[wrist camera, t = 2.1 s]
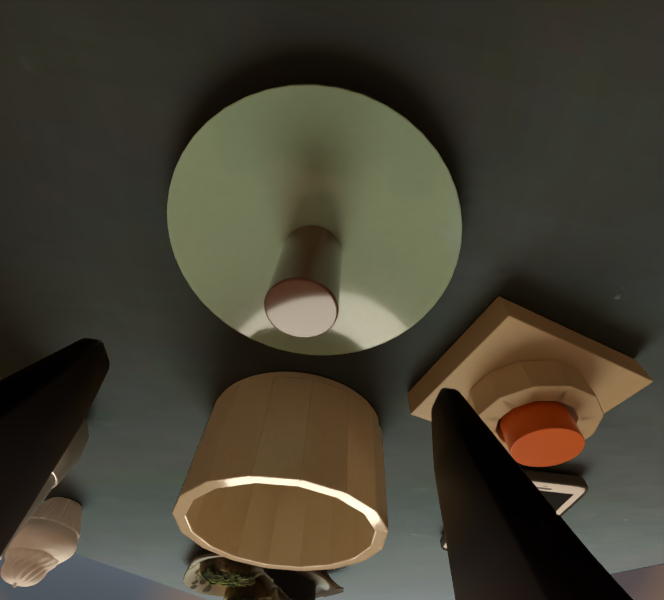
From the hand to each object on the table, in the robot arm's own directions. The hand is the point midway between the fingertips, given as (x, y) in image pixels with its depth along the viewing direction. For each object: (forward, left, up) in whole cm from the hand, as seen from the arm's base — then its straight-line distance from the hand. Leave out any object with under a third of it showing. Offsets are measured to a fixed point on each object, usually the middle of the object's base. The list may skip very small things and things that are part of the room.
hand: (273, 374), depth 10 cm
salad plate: (-13, +45, -10) cm, 48 cm away
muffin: (+10, +40, -10) cm, 42 cm away
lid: (-1, +1, -9) cm, 9 cm away
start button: (-16, +4, -6) cm, 17 cm away
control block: (-16, +4, -10) cm, 19 cm away
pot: (-6, +16, -10) cm, 19 cm away
